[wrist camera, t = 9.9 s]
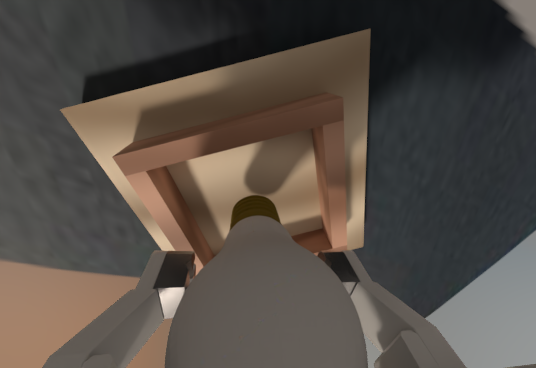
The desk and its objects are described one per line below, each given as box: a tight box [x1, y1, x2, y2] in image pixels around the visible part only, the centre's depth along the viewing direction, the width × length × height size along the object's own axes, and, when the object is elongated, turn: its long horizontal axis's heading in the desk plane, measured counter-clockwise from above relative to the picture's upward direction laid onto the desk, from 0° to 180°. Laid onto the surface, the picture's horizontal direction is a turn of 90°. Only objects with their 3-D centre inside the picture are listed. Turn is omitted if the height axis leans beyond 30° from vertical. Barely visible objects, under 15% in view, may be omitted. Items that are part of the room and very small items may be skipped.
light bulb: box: [165, 195, 368, 368], centre depth 8 cm, size 6×6×10 cm
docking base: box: [60, 28, 371, 275], centre depth 13 cm, size 15×15×4 cm
